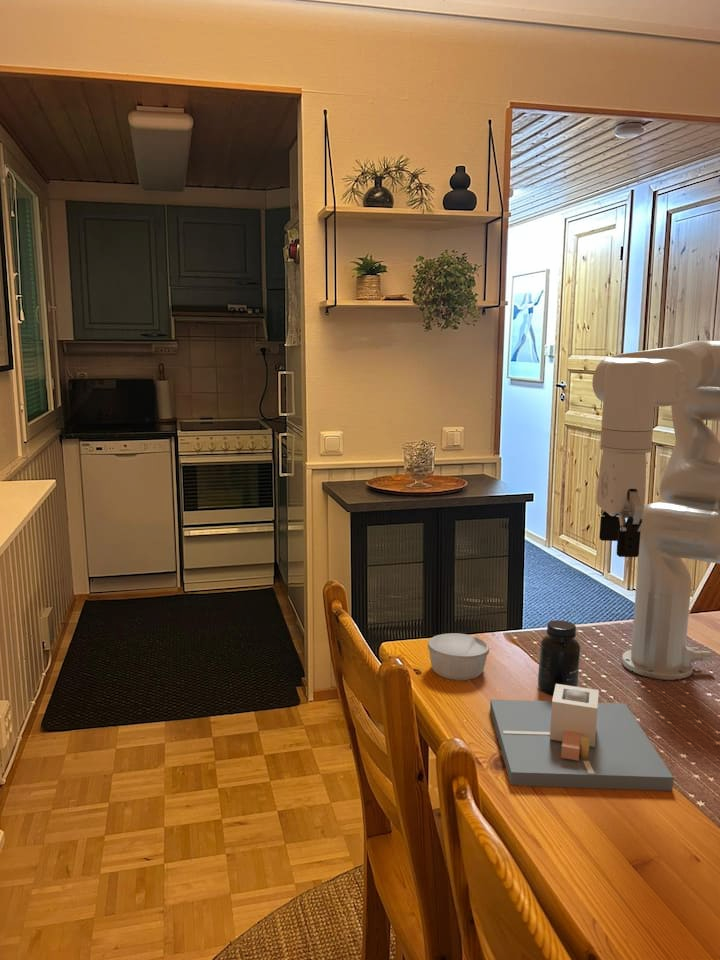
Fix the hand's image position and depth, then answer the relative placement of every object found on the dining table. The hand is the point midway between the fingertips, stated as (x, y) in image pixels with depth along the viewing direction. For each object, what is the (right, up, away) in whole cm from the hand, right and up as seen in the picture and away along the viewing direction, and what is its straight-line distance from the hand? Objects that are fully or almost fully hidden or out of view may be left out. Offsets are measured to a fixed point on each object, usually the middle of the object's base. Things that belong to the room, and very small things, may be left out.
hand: (618, 548), depth 122 cm
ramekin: (-23, -25, +22) cm, 40 cm away
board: (-9, -30, -6) cm, 31 cm away
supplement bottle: (-6, -26, +14) cm, 30 cm away
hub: (-10, -28, -8) cm, 30 cm away
